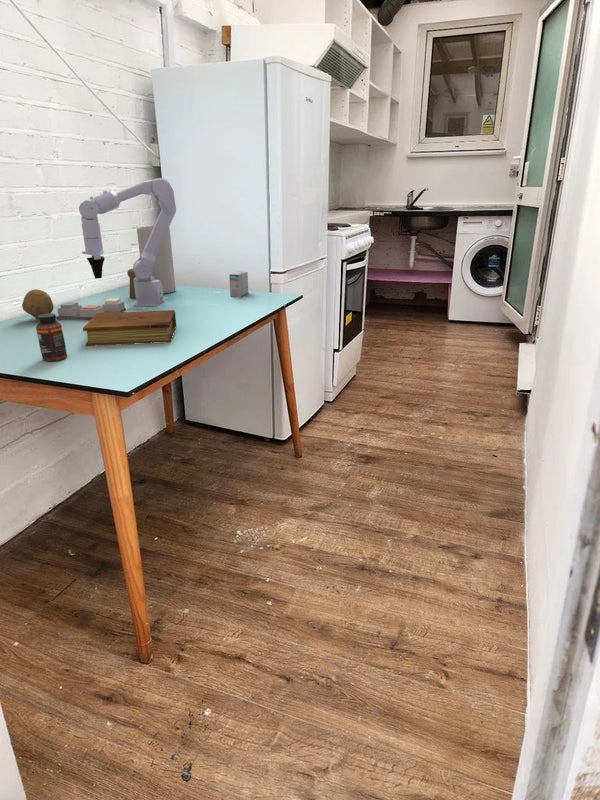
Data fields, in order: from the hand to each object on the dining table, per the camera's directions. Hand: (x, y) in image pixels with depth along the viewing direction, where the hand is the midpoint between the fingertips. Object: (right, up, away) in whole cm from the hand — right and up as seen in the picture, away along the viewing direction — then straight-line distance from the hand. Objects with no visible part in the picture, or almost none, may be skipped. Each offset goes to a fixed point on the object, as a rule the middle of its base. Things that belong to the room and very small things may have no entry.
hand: (98, 278), depth 189 cm
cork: (+8, -3, +20) cm, 22 cm away
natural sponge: (-14, -17, -12) cm, 25 cm away
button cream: (+7, -11, -4) cm, 13 cm away
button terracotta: (+2, -14, -11) cm, 18 cm away
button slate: (-6, -13, -9) cm, 17 cm away
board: (0, -14, -6) cm, 15 cm away
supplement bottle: (+8, -32, -51) cm, 61 cm away
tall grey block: (+14, +1, +31) cm, 34 cm away
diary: (+22, -24, -31) cm, 45 cm away
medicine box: (+47, -2, +23) cm, 52 cm away
